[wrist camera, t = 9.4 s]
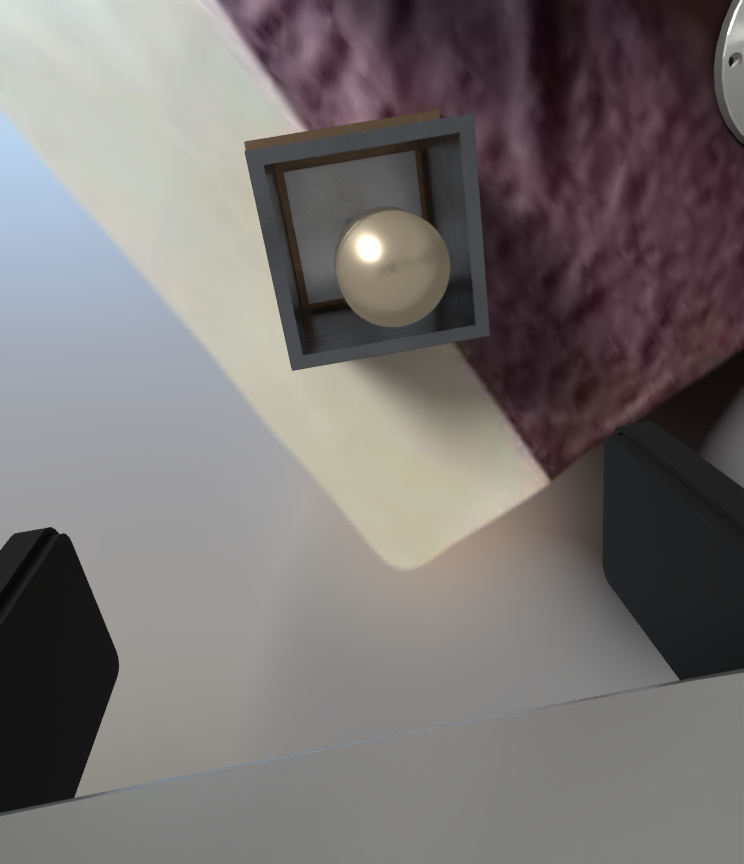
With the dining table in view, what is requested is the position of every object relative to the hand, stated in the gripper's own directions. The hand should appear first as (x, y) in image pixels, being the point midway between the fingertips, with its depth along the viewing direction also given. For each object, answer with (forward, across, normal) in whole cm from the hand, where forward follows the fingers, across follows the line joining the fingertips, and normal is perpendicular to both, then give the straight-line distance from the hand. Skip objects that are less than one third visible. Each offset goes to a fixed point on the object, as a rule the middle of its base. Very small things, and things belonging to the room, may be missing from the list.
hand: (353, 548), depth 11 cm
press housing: (+34, -3, -2) cm, 34 cm away
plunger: (+32, -3, -2) cm, 32 cm away
